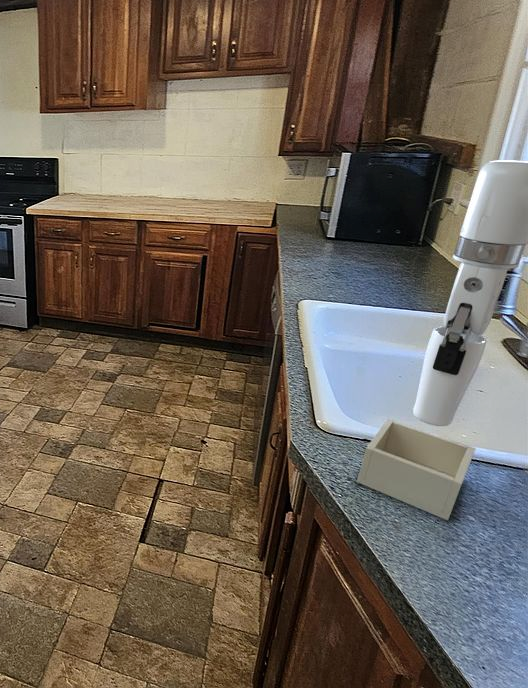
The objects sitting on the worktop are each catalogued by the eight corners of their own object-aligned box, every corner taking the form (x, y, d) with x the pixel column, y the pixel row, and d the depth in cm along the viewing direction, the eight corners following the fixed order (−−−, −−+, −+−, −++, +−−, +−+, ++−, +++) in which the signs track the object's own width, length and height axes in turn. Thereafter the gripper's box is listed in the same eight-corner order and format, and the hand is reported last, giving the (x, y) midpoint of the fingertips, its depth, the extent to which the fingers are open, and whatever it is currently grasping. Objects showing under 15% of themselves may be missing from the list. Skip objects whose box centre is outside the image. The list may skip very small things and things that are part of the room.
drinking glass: (415, 403, 90) (441, 322, 84) (462, 420, 85) (493, 335, 80) (400, 417, 86) (426, 332, 80) (449, 435, 81) (480, 347, 76)
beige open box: (462, 482, 90) (475, 448, 88) (447, 520, 82) (461, 484, 79) (378, 450, 99) (387, 418, 96) (356, 482, 90) (366, 447, 87)
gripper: (514, 268, 67) (469, 391, 74) (527, 246, 78) (488, 354, 85) (443, 257, 72) (408, 374, 79) (466, 238, 83) (433, 341, 90)
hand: (450, 363), depth 82 cm, fingers closed on drinking glass, 6 cm apart
